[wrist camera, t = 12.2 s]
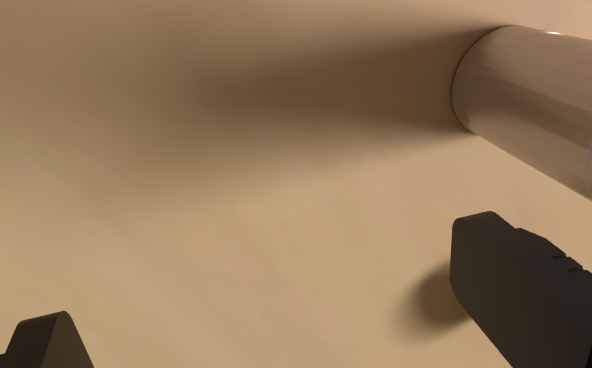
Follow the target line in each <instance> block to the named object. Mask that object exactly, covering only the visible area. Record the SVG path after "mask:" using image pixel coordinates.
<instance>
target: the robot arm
mask: <svg viewBox="0 0 592 368" xmlns="http://www.w3.org/2000/svg"><path fill="white" fill-rule="evenodd" d="M452 105H453V108H454V112H455V114H456V116H457V118H458V120H459V121H460V123H461V124H462V125H463V126H464V127H465V128H467V129H468V130H470V131H472V132H474V133H475V134H477V135H479V136H480V137H482V138H484V139H485V140H487V141H489V142H491V143H492V144H494V145H495V146H497V147H499V148H500V149H502V150H504V151H506V152H507V153H509V154H511V155H513V156H514V157H516V158H518V159H519V160H521V161H523V162H525V163H526V164H528V165H530V166H532V167H533V168H535V169H537V170H538V171H540V172H542V173H544V174H545V175H547V176H549V177H551V178H552V179H554V180H556V181H558V182H559V183H561V184H563V185H564V186H566V187H568V188H570V189H571V190H573V191H575V192H577V193H578V194H580V195H582V196H584V197H585V198H587V199H589V200H590V201H592V40H588V39H583V38H578V37H573V36H568V35H563V34H559V33H554V32H549V31H544V30H538V29H533V28H528V27H523V26H507V27H501V28H499V29H497V30H494V31H492V32H490V33H488V34H487V35H485V36H484V37H482V38H481V39H480V40H478V41H477V42H476V43H475V44H474V45H473V46H472V47H471V48H470V50H469V51H468V52H467V54H466V55H465V56H464V58H463V59H462V61H461V63H460V65H459V67H458V69H457V71H456V74H455V78H454V81H453V87H452ZM450 281H451V286H452V289H453V292H454V294H455V296H456V298H457V300H458V302H459V303H460V304H461V305H462V307H463V308H464V309H465V310H466V312H467V313H468V314H469V315H470V316H471V318H472V319H473V320H474V321H475V323H476V324H477V325H478V326H479V327H480V329H481V330H482V331H483V332H484V333H485V335H486V336H487V337H488V338H489V340H490V341H491V342H492V343H493V344H494V346H495V347H496V348H497V349H498V350H499V352H500V353H501V354H502V355H503V357H504V358H505V359H506V360H507V361H508V363H509V364H510V365H511V366H512V367H513V368H592V273H591V272H589V271H588V270H583V268H582V266H581V265H580V264H579V263H577V262H576V261H575V260H573V259H572V258H571V257H566V254H565V253H564V252H563V251H562V250H560V249H559V248H558V247H556V246H555V245H554V244H552V243H551V242H550V241H548V240H547V239H546V238H543V237H541V236H539V235H536V234H534V233H532V232H529V231H527V230H524V229H522V228H517V229H515V228H514V227H513V226H511V225H510V224H509V223H508V222H506V221H505V220H504V219H503V218H501V217H500V216H499V215H498V214H496V213H495V212H492V211H487V212H482V213H478V214H474V215H470V216H466V217H461V218H457V219H456V220H455V221H454V223H453V227H452V244H451V262H450ZM0 368H94V366H93V364H92V362H91V360H90V357H89V355H88V353H87V351H86V349H85V346H84V344H83V342H82V340H81V338H80V335H79V333H78V331H77V329H76V327H75V325H74V322H73V320H72V318H71V316H70V315H69V314H68V313H67V312H66V311H61V312H57V313H52V314H48V315H44V316H40V317H36V318H31V319H27V320H23V321H21V322H19V324H18V325H17V327H16V329H15V331H14V334H13V336H12V338H11V341H10V343H9V345H8V348H7V350H6V352H5V354H1V355H0Z"/></svg>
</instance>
